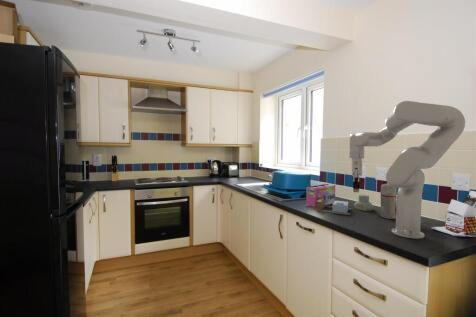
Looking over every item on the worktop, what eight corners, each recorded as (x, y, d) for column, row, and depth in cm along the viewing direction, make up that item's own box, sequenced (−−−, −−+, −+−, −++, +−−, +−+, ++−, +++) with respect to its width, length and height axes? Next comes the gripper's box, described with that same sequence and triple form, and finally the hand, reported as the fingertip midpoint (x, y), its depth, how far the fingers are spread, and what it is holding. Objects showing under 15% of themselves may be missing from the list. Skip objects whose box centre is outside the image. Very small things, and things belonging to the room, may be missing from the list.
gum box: (327, 202, 187) (327, 183, 186) (336, 204, 181) (337, 185, 180) (305, 206, 173) (306, 186, 172) (315, 208, 166) (315, 188, 166)
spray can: (392, 220, 141) (393, 184, 140) (377, 216, 147) (378, 182, 147) (399, 218, 145) (400, 183, 144) (384, 214, 152) (385, 181, 151)
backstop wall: (320, 211, 154) (320, 201, 154) (316, 211, 155) (316, 201, 155) (324, 206, 168) (324, 197, 167) (320, 206, 169) (320, 197, 168)
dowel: (359, 192, 141) (359, 176, 141) (353, 192, 143) (353, 176, 142) (359, 191, 144) (359, 176, 144) (353, 191, 145) (353, 175, 145)
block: (346, 214, 149) (346, 205, 149) (332, 212, 153) (332, 204, 152) (348, 209, 160) (348, 201, 159) (334, 208, 163) (334, 200, 163)
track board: (350, 216, 147) (350, 213, 147) (316, 212, 155) (316, 209, 155) (351, 211, 160) (351, 208, 160) (320, 207, 169) (320, 204, 169)
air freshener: (375, 211, 160) (375, 195, 160) (369, 213, 155) (369, 197, 155) (358, 208, 169) (358, 193, 168) (351, 210, 164) (352, 194, 163)
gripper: (363, 156, 134) (363, 190, 134) (364, 155, 148) (363, 187, 149) (348, 155, 137) (348, 189, 138) (350, 155, 152) (349, 186, 152)
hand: (356, 188), depth 143 cm, fingers closed on dowel, 3 cm apart
